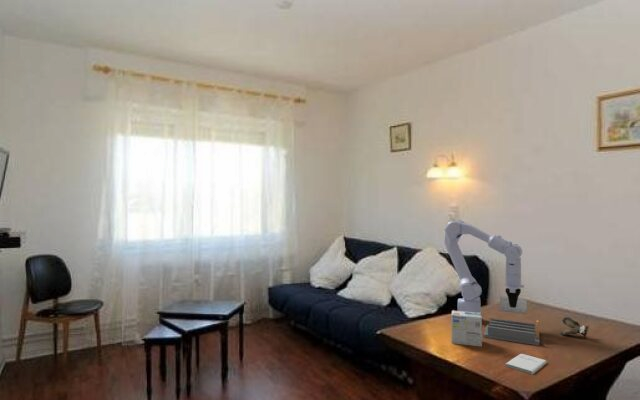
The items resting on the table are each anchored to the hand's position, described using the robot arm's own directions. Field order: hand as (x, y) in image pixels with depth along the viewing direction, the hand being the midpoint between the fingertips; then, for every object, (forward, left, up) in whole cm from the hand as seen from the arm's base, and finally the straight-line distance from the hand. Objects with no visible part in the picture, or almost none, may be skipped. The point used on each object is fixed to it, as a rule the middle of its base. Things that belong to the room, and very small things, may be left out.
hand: (513, 306), depth 168 cm
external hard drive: (+5, -39, -9) cm, 41 cm away
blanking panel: (0, 0, -2) cm, 2 cm away
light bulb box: (-15, -27, -9) cm, 32 cm away
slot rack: (0, -11, -9) cm, 14 cm away
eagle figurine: (+22, 0, -9) cm, 23 cm away
